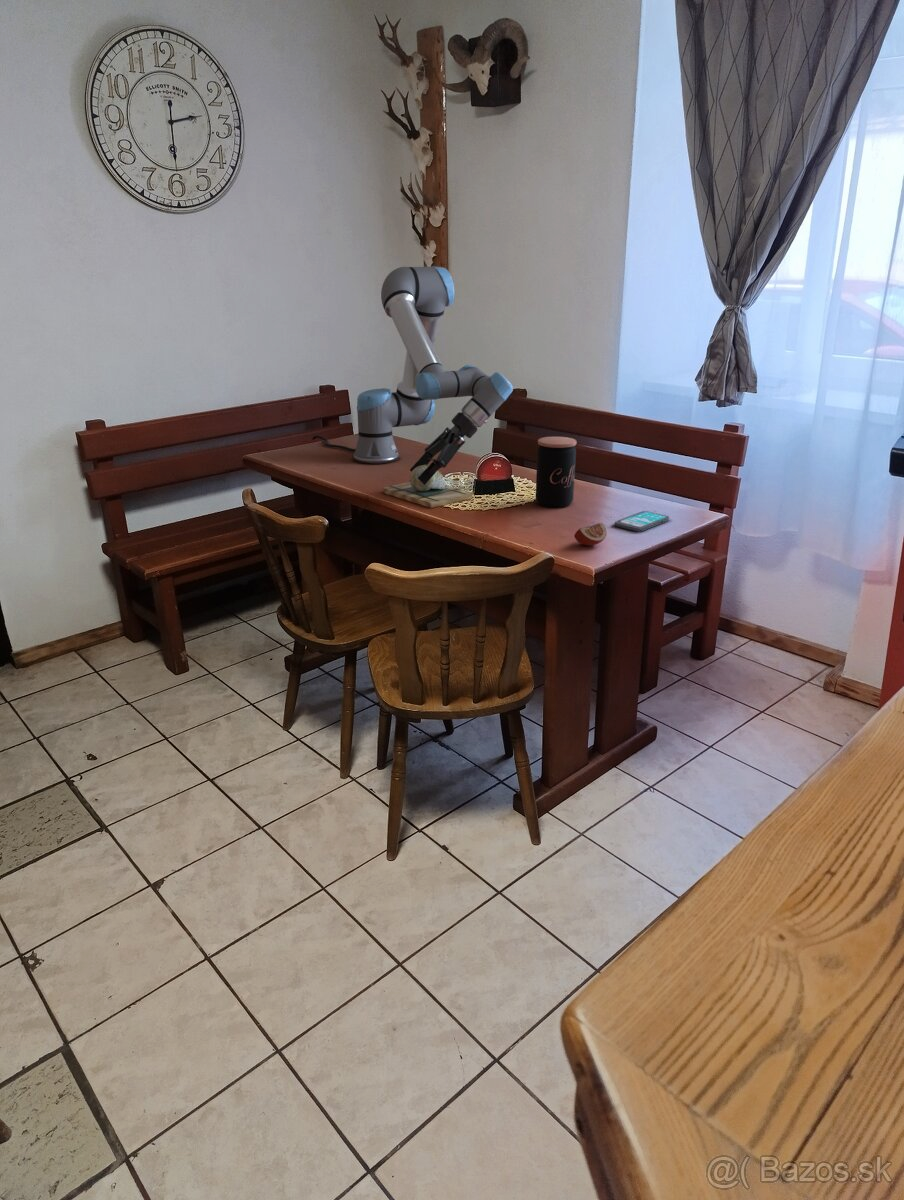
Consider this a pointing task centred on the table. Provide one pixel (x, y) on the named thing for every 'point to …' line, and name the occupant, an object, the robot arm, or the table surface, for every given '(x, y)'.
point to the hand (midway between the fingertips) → (416, 477)
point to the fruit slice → (591, 534)
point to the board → (428, 495)
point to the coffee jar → (555, 471)
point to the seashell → (433, 483)
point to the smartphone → (641, 521)
